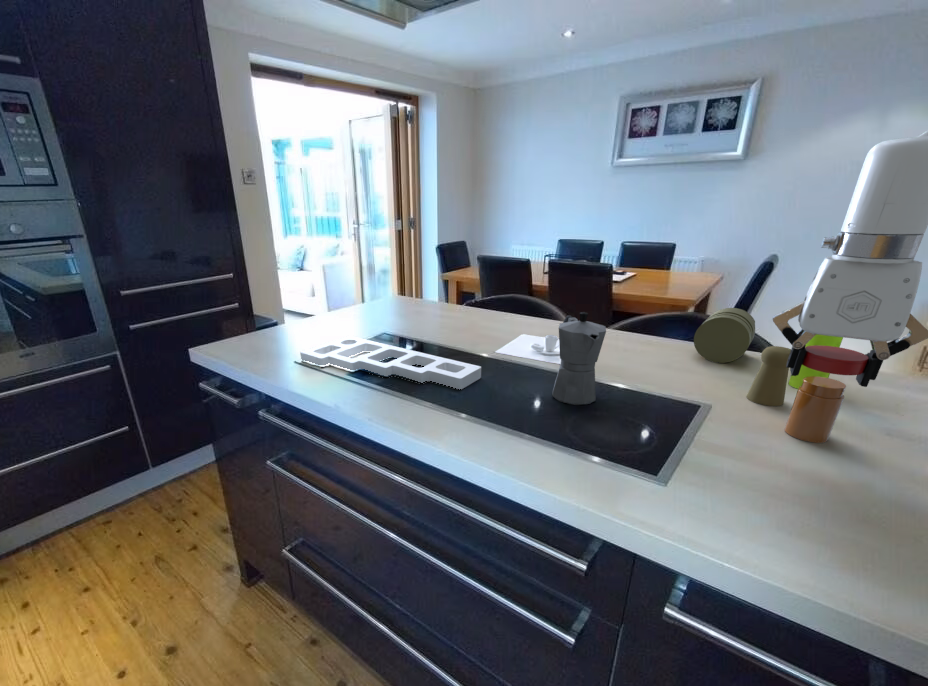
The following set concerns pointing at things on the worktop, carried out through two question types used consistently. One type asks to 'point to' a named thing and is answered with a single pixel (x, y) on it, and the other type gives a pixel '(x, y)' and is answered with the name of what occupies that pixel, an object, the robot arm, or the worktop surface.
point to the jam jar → (815, 409)
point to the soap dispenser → (807, 372)
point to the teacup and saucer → (534, 348)
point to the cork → (771, 377)
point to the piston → (725, 335)
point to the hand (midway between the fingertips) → (826, 377)
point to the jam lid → (835, 360)
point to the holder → (393, 362)
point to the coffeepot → (578, 360)
